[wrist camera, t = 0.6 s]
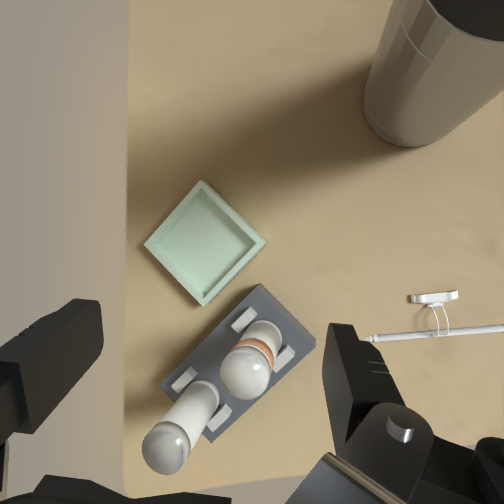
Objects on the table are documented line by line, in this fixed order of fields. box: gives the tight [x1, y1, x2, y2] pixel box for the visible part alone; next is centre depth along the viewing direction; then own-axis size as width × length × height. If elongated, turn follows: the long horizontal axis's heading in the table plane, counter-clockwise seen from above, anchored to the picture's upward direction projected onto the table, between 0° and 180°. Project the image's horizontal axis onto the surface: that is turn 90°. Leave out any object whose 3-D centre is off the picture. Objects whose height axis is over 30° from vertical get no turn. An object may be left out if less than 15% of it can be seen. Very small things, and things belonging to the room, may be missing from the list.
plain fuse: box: [142, 378, 220, 475], centre depth 29 cm, size 4×4×9 cm
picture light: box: [363, 290, 504, 342], centre depth 31 cm, size 14×4×2 cm, turn 98°
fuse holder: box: [159, 283, 316, 443], centre depth 34 cm, size 15×8×4 cm, turn 136°
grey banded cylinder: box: [220, 319, 282, 400], centre depth 28 cm, size 4×4×9 cm
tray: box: [144, 180, 268, 307], centre depth 35 cm, size 9×9×2 cm
